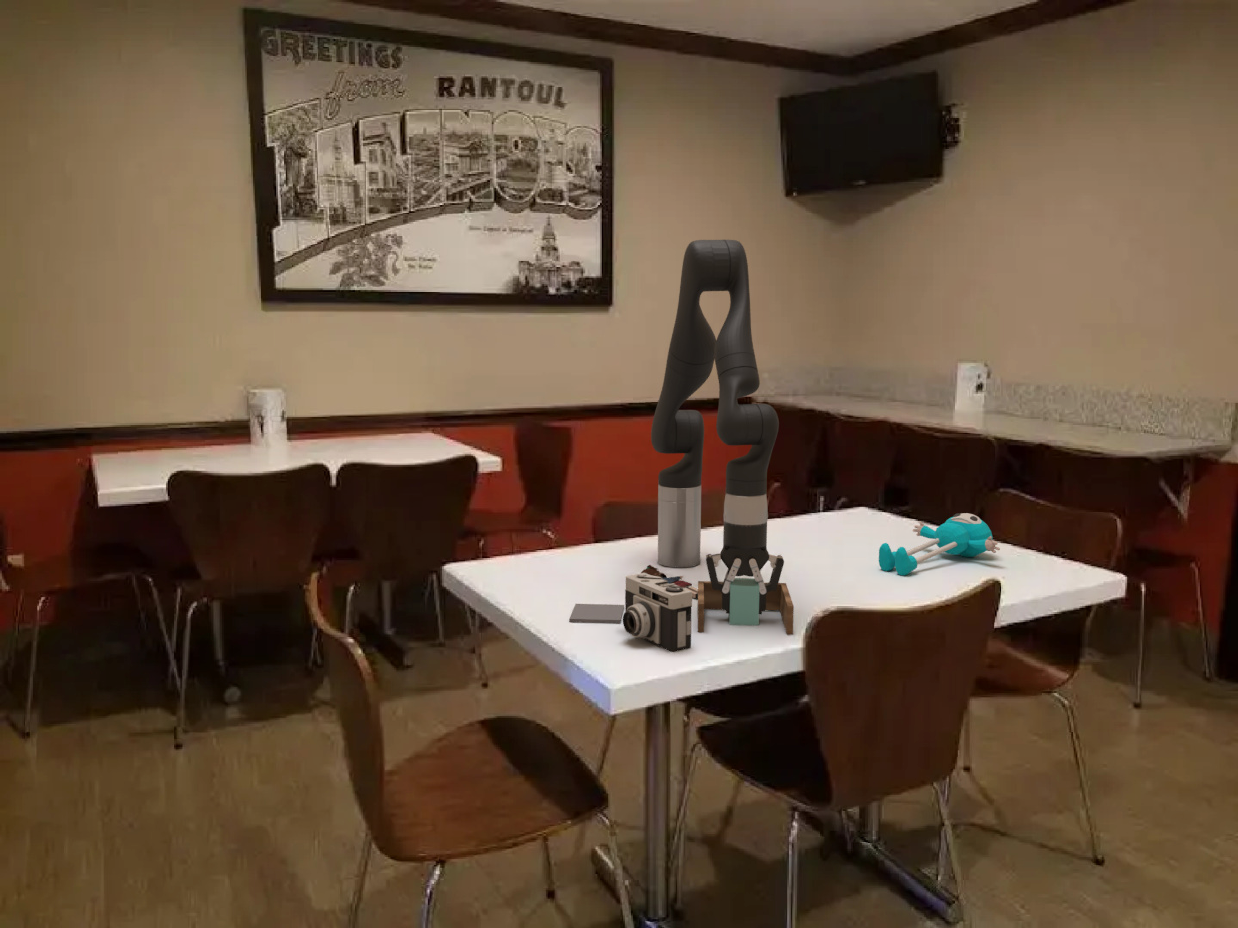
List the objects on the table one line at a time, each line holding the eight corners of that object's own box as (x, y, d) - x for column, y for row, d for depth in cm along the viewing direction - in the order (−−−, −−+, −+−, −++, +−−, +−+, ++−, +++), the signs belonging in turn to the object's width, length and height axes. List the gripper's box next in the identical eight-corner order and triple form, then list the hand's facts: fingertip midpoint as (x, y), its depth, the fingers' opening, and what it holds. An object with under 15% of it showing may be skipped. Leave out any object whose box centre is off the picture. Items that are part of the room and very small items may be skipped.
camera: (605, 633, 165) (605, 576, 163) (645, 624, 169) (645, 569, 168) (651, 657, 153) (652, 596, 152) (693, 647, 158) (694, 588, 156)
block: (728, 615, 174) (729, 577, 173) (756, 616, 174) (757, 578, 173) (729, 624, 169) (730, 585, 168) (758, 625, 169) (759, 586, 168)
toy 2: (848, 536, 210) (935, 501, 226) (851, 579, 212) (937, 541, 229) (935, 557, 192) (1022, 517, 209) (937, 603, 194) (1023, 561, 211)
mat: (575, 606, 179) (575, 603, 179) (624, 608, 179) (624, 604, 179) (569, 622, 170) (569, 618, 170) (620, 623, 170) (620, 620, 170)
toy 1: (722, 597, 190) (661, 578, 199) (724, 573, 189) (663, 556, 199) (681, 613, 180) (618, 593, 189) (683, 589, 179) (620, 569, 188)
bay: (697, 607, 179) (698, 581, 178) (785, 609, 178) (785, 583, 177) (697, 631, 165) (698, 603, 165) (792, 634, 164) (793, 605, 163)
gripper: (785, 514, 172) (782, 607, 175) (703, 513, 173) (702, 605, 176) (789, 523, 165) (786, 620, 167) (704, 522, 166) (702, 618, 168)
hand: (743, 612), depth 171 cm, fingers closed on block, 5 cm apart
